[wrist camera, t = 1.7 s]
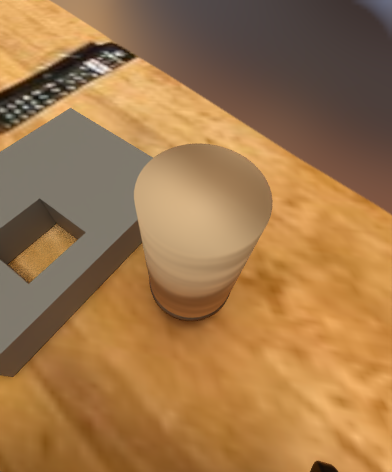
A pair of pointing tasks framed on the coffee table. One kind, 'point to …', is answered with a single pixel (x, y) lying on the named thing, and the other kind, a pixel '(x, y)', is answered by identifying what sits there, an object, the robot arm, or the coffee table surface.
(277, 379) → the coffee table surface
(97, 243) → the board
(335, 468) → the robot arm
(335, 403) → the coffee table surface
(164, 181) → the peg
